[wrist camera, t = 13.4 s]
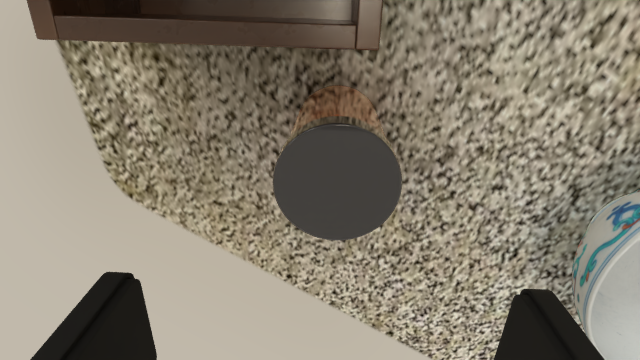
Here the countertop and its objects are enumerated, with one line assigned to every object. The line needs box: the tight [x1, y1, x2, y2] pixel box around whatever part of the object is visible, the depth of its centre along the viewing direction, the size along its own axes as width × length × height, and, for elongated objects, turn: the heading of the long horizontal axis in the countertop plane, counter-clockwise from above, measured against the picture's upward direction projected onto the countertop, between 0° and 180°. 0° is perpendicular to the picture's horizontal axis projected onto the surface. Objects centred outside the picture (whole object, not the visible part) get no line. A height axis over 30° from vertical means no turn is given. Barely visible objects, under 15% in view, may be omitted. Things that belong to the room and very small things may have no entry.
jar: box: [273, 85, 402, 240], centre depth 22 cm, size 6×6×10 cm
